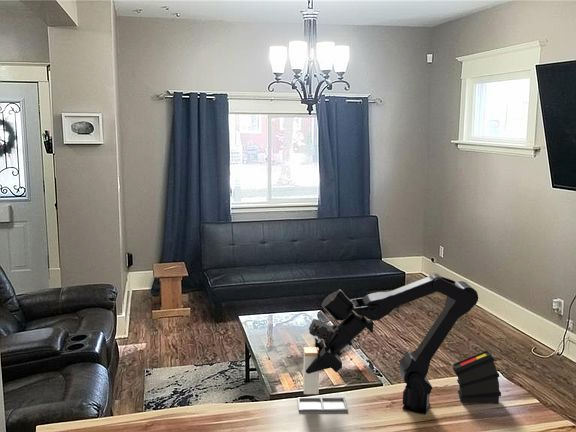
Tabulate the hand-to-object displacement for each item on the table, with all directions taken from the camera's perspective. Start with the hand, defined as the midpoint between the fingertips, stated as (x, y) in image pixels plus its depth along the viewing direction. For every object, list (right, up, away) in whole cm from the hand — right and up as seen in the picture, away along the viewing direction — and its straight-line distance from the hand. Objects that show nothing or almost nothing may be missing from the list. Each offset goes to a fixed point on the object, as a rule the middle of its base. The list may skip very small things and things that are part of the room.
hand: (306, 369), depth 160 cm
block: (+1, -6, +1) cm, 7 cm away
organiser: (+5, -12, +2) cm, 13 cm away
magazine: (+49, -12, +8) cm, 51 cm away
